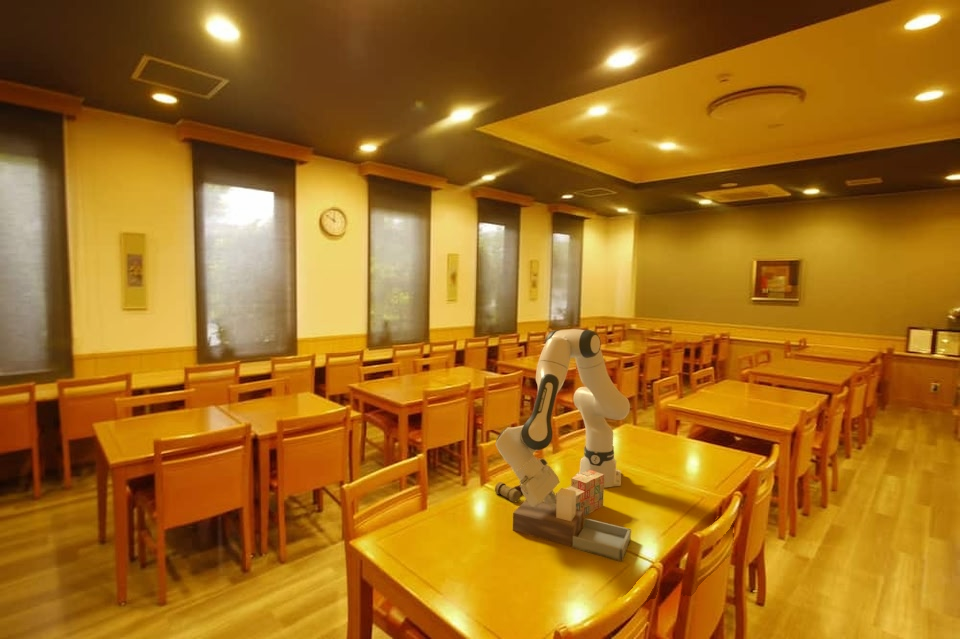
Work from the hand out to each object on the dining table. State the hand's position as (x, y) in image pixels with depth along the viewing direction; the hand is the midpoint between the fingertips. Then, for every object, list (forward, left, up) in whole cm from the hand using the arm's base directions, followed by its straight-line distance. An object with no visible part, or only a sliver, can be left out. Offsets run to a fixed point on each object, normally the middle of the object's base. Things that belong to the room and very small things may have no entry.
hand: (556, 506), depth 155 cm
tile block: (0, +3, -2) cm, 4 cm away
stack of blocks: (-17, +3, -9) cm, 20 cm away
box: (0, +15, -9) cm, 17 cm away
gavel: (-23, -22, -9) cm, 33 cm away
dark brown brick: (0, -3, -9) cm, 9 cm away
